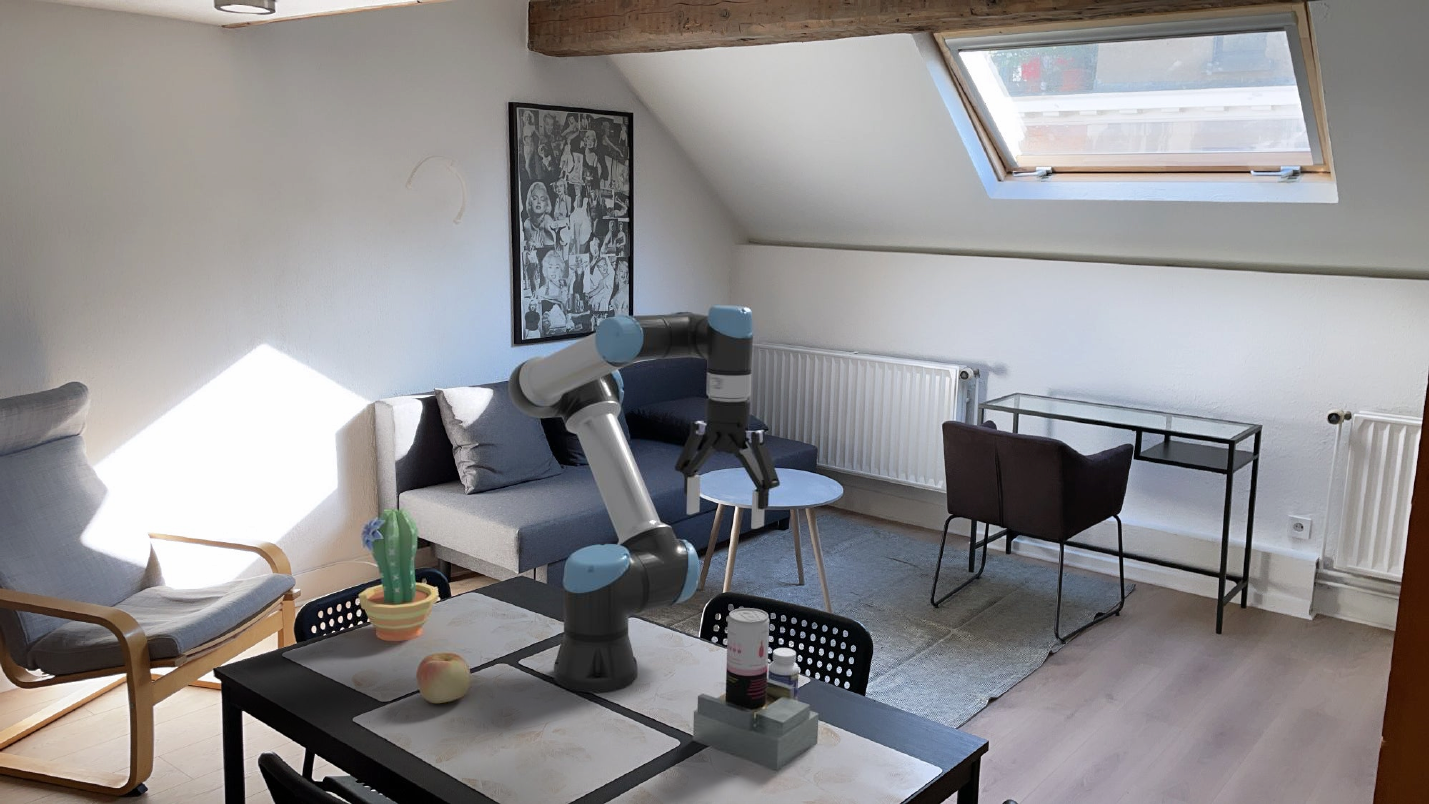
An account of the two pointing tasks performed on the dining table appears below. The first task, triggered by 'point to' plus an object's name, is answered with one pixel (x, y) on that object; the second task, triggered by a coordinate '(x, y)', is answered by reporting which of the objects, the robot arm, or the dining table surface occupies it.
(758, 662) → the beverage can
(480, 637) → the dining table surface
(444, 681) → the apple
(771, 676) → the pill bottle
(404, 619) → the potted cactus
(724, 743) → the brass dish housing
